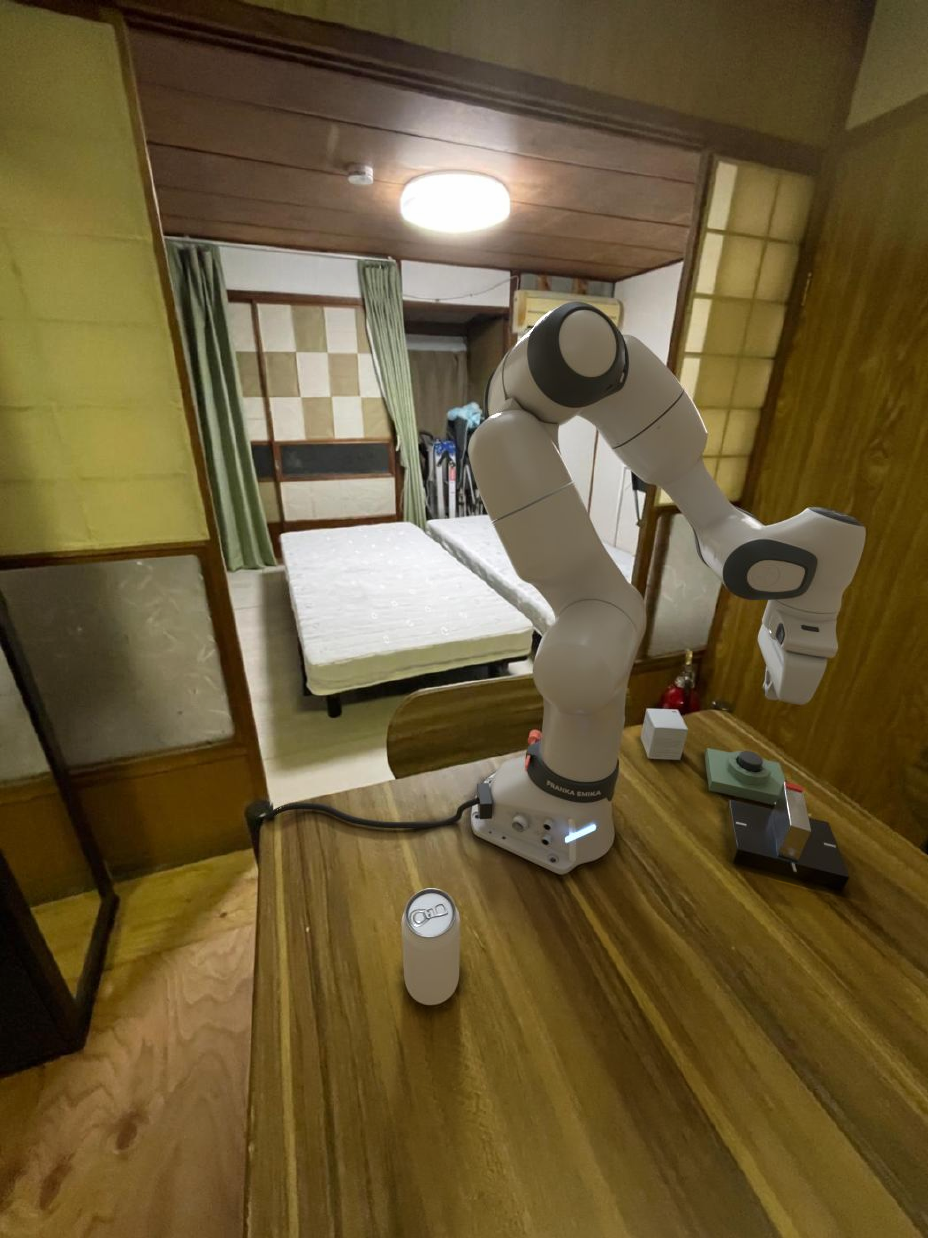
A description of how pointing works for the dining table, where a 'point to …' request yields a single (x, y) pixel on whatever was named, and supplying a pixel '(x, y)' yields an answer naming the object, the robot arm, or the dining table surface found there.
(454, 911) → the can
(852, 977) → the dining table surface
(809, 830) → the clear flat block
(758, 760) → the button
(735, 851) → the base
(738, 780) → the button block
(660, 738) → the product box
